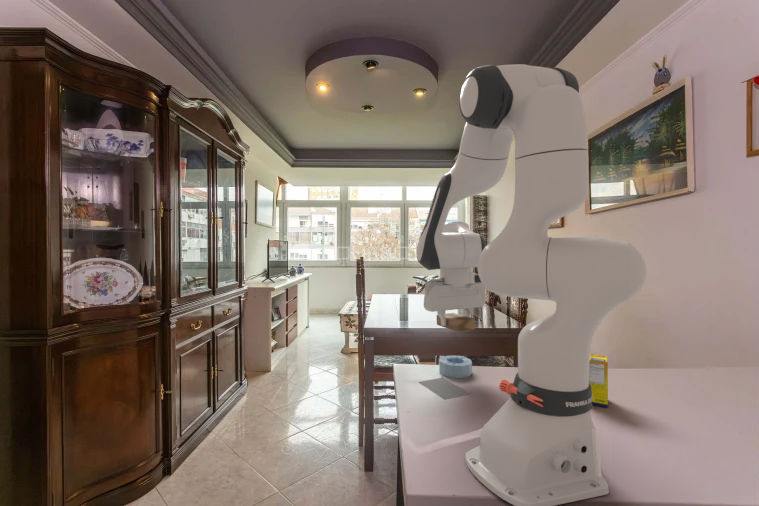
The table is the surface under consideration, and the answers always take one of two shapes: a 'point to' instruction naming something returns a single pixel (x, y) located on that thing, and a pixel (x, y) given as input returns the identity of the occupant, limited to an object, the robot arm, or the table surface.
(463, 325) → the tan rectangular sponge
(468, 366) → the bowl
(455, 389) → the mat
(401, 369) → the table surface
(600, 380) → the supplement box
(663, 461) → the table surface
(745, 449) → the table surface
